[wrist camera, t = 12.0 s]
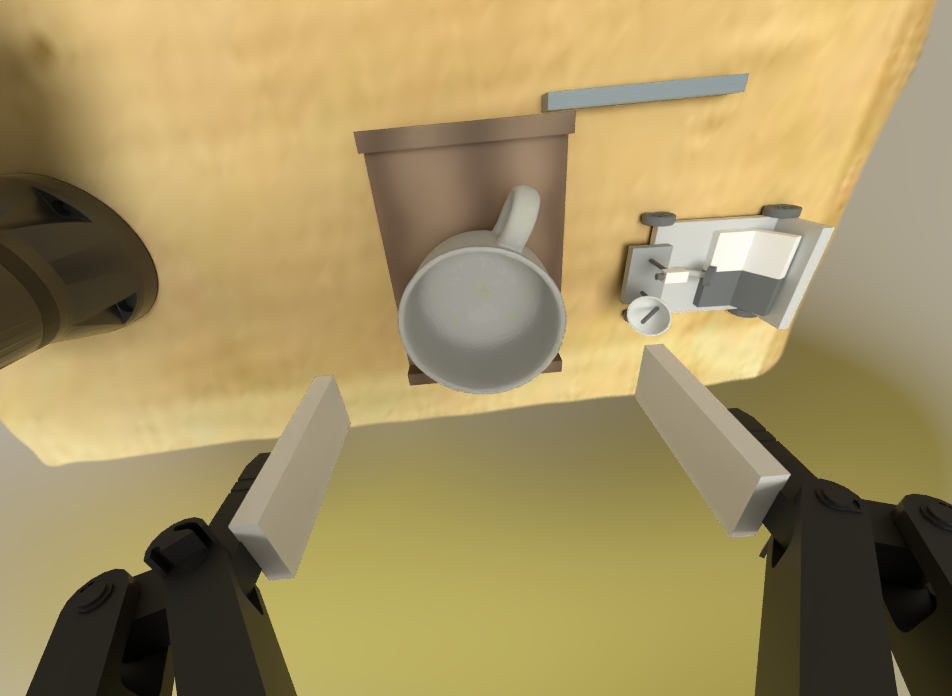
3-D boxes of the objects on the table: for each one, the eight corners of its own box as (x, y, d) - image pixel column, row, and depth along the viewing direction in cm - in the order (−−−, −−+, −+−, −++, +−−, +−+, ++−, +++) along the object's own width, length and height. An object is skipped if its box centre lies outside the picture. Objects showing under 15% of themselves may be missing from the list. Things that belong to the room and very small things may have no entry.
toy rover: (632, 361, 34) (658, 238, 28) (597, 316, 42) (611, 213, 36) (817, 349, 34) (884, 224, 28) (746, 306, 42) (786, 203, 36)
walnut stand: (420, 331, 42) (410, 385, 33) (383, 132, 31) (353, 132, 22) (538, 320, 41) (561, 371, 32) (541, 117, 31) (575, 110, 22)
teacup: (499, 358, 33) (510, 417, 26) (390, 309, 30) (371, 361, 23) (592, 223, 27) (637, 254, 20) (468, 145, 24) (472, 149, 17)
